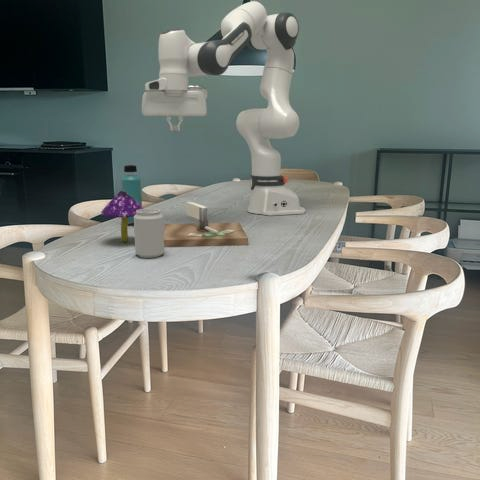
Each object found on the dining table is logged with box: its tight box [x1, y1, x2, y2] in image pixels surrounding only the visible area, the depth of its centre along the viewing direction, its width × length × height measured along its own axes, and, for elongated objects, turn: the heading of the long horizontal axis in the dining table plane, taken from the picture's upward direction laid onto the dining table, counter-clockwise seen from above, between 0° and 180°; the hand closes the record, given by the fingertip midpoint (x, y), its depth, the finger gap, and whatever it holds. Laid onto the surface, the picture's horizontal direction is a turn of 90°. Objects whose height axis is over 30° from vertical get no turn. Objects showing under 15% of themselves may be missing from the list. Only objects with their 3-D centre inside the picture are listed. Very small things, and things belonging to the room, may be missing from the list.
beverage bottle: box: [121, 164, 143, 223], centre depth 161 cm, size 6×7×20 cm
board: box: [164, 222, 249, 248], centre depth 146 cm, size 24×22×2 cm
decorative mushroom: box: [100, 190, 145, 243], centre depth 138 cm, size 12×12×15 cm
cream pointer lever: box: [185, 201, 218, 234], centre depth 147 cm, size 20×3×7 cm, turn 29°
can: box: [133, 208, 165, 259], centre depth 125 cm, size 8×8×12 cm
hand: (175, 131), depth 152 cm, fingers closed
